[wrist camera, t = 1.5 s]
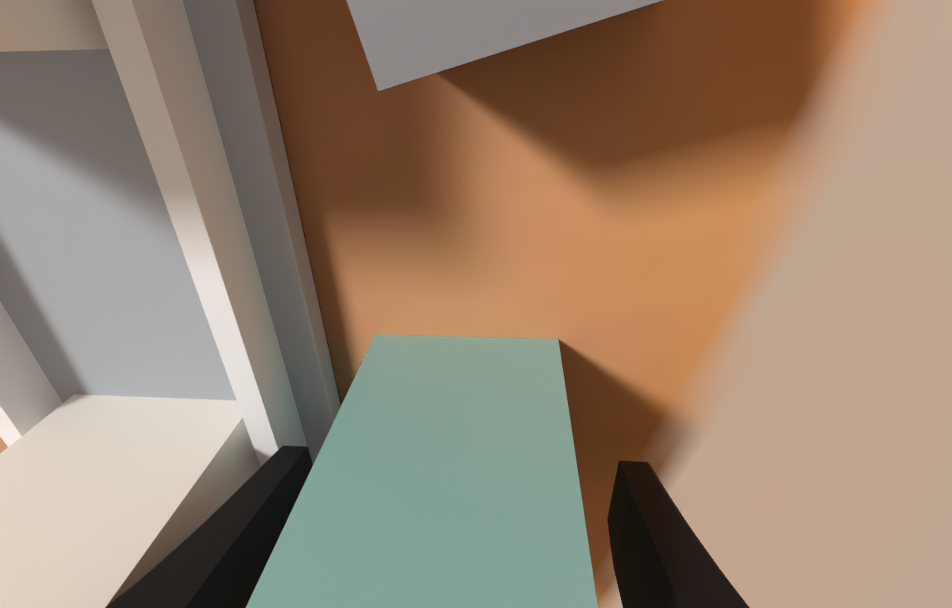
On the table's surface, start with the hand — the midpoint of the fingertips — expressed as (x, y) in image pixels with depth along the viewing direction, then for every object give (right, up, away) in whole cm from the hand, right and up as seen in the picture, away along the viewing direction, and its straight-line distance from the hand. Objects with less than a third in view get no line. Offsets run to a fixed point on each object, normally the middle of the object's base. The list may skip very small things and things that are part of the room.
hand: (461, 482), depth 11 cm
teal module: (0, +1, +2) cm, 2 cm away
